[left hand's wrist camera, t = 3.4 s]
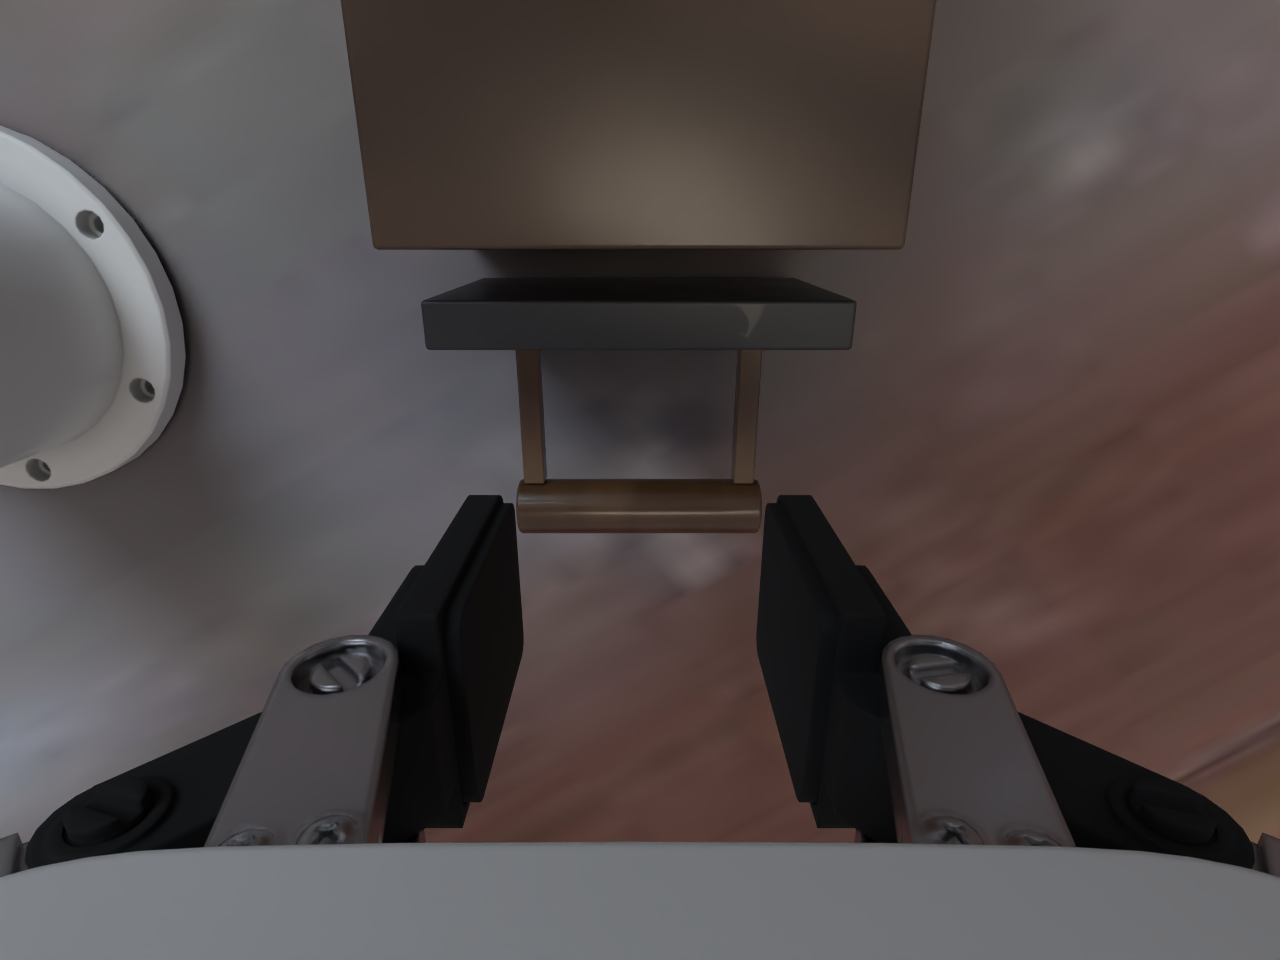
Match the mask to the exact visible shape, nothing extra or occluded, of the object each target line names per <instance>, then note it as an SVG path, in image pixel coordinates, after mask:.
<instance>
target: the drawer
mask: <svg viewBox="0 0 1280 960" xmlns="http://www.w3.org/2000/svg"><path fill="white" fill-rule="evenodd" d="M421 307H422V316H423V325H424V334H425V343H426V348H427V349H429V350H516V360H517V376H518V391H519V407H520V422H521V438H522V453H523V469H524V479H522V480H521V481H520V483H519V486H518V490H517V500H516V514H517V523H518V528H519V530H520V532H522V533H756V532H758V531H759V528H760V524H761V515H762V499H761V490H760V485H759V482H758V480H756V479H754V470H755V454H756V439H757V423H758V407H759V391H760V375H761V359H762V350H848V349H851V347H852V340H853V331H854V322H855V313H856V301H854V300H852V299H849V298H846V297H844V296H841V295H838V294H835V293H833V292H830V291H827V290H825V289H822V288H819V287H817V286H814V285H811V284H809V283H806V282H803V281H801V280H798V279H795V278H483V279H481V280H478V281H475V282H472V283H470V284H467V285H464V286H462V287H459V288H456V289H453V290H451V291H448V292H445V293H443V294H440V295H437V296H434V297H432V298H429V299H426V300H424V301H422V303H421ZM540 350H737V370H736V390H735V410H734V429H733V449H732V469H731V477H732V479H546V477H547V467H546V448H545V429H544V410H543V390H542V371H541V352H540Z"/></svg>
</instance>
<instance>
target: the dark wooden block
mask: <svg viewBox="0 0 1280 960" xmlns="http://www.w3.org/2000/svg"><path fill="white" fill-rule="evenodd" d="M341 5H342V13H343V21H344V28H345V36H346V44H347V51H348V59H349V66H350V74H351V82H352V89H353V97H354V104H355V112H356V120H357V127H358V135H359V142H360V150H361V158H362V165H363V173H364V180H365V188H366V196H367V203H368V211H369V218H370V226H371V234H372V241H373V246H374V248H376V249H378V250H653V249H902V248H903V247H904V244H905V236H906V229H907V221H908V213H909V206H910V198H911V190H912V182H913V175H914V167H915V159H916V152H917V144H918V136H919V128H920V121H921V113H922V105H923V98H924V90H925V82H926V75H927V67H928V59H929V51H930V44H931V36H932V28H933V21H934V13H935V5H936V0H341Z"/></svg>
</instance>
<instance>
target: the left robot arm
mask: <svg viewBox="0 0 1280 960" xmlns="http://www.w3.org/2000/svg"><path fill="white" fill-rule="evenodd" d="M185 359H186V353H185V343H184V333H183V323H182V319H181V316H180V312H179V309H178V305H177V302H176V298H175V295H174V291H173V288H172V286H171V283H170V281H169V279H168V277H167V275H166V273H165V271H164V269H163V267H162V264H161V262H160V260H159V258H158V256H157V254H156V252H155V251H154V249H153V248H152V246H151V245H150V243H149V242H148V240H147V239H146V237H145V236H144V234H143V233H142V231H141V230H140V228H139V227H138V226H137V224H136V223H135V221H134V220H133V218H132V217H131V216H130V215H129V214H128V213H127V212H126V211H125V210H124V209H123V207H122V206H121V205H120V204H119V203H118V202H117V201H116V200H115V199H114V198H113V197H112V195H111V194H110V193H109V192H108V191H107V190H106V189H105V188H104V187H103V186H102V185H101V184H99V183H98V182H97V181H96V180H94V179H93V178H92V177H91V176H89V175H88V174H87V173H86V172H85V171H83V170H82V169H81V168H80V167H78V166H77V165H76V164H75V163H73V162H72V161H71V160H69V159H68V158H66V157H64V156H63V155H61V154H59V153H58V152H56V151H54V150H52V149H51V148H49V147H47V146H46V145H44V144H42V143H41V142H39V141H37V140H36V139H34V138H31V137H29V136H26V135H24V134H21V133H19V132H16V131H13V130H11V129H8V128H6V127H3V126H1V125H0V485H5V486H11V487H17V488H23V489H56V488H61V487H67V486H72V485H77V484H82V483H86V482H89V481H91V480H93V479H96V478H98V477H100V476H103V475H105V474H107V473H110V472H112V471H115V470H116V469H118V468H120V467H122V466H123V465H125V464H127V463H129V462H130V461H132V460H134V459H136V458H137V457H139V456H140V455H141V454H142V453H143V452H144V451H145V450H146V449H147V448H148V447H149V446H150V445H152V444H153V443H154V442H155V441H156V440H157V439H158V438H159V436H160V435H161V433H162V431H163V430H164V428H165V427H166V425H167V424H168V422H169V420H170V419H171V417H172V416H173V414H174V411H175V408H176V405H177V402H178V399H179V396H180V393H181V390H182V387H183V378H184V368H185ZM523 638H524V637H523V621H522V607H521V593H520V579H519V564H518V550H517V536H516V522H515V510H514V505H513V504H512V503H503V499H502V496H500V495H469V496H468V497H467V499H466V500H465V502H464V503H463V505H462V506H461V508H460V510H459V511H458V513H457V514H456V516H455V518H454V519H453V521H452V522H451V524H450V526H449V527H448V529H447V530H446V532H445V534H444V535H443V537H442V538H441V540H440V542H439V543H438V545H437V546H436V548H435V550H434V551H433V553H432V554H431V556H430V558H429V559H428V561H427V562H426V564H425V565H419V566H414V567H413V568H412V569H411V571H410V572H409V574H408V575H407V577H406V578H405V580H404V581H403V583H402V584H401V586H400V588H399V589H398V591H397V592H396V594H395V595H394V597H393V598H392V600H391V601H390V603H389V604H388V606H387V607H386V609H385V610H384V612H383V613H382V615H381V616H380V618H379V619H378V621H377V622H376V624H375V626H374V627H373V629H372V630H371V632H370V633H369V635H348V636H343V637H338V638H333V639H329V640H327V641H324V642H321V643H318V644H315V645H313V646H311V647H309V648H307V649H305V650H304V651H302V652H300V653H298V654H297V655H296V656H294V657H293V658H292V659H291V660H290V661H288V662H287V663H286V664H285V666H284V667H283V669H282V670H281V671H280V673H279V674H278V677H277V679H276V681H275V684H274V686H273V688H272V691H271V693H270V695H269V698H268V700H267V702H266V704H265V707H264V709H263V711H262V712H261V713H258V714H256V715H254V716H252V717H249V718H247V719H245V720H243V721H240V722H238V723H236V724H234V725H231V726H229V727H227V728H224V729H222V730H220V731H218V732H215V733H213V734H211V735H209V736H206V737H204V738H202V739H200V740H197V741H195V742H193V743H191V744H188V745H186V746H184V747H182V748H179V749H177V750H175V751H172V752H170V753H168V754H166V755H163V756H161V757H159V758H157V759H154V760H152V761H150V762H148V763H145V764H143V765H141V766H139V767H136V768H134V769H132V770H129V771H127V772H125V773H123V774H120V775H118V776H116V777H114V778H111V779H109V780H107V781H105V782H102V783H100V784H98V785H95V786H93V787H92V788H91V789H89V790H87V791H85V792H83V793H81V794H79V795H77V796H75V797H74V798H73V799H71V800H70V801H68V802H67V803H66V804H64V805H63V806H61V807H60V808H59V809H57V810H56V811H54V812H53V813H52V814H51V815H50V816H49V817H48V818H47V819H46V820H45V821H44V822H43V823H42V824H41V825H40V826H39V827H38V828H37V830H36V832H35V833H34V835H33V836H32V838H31V840H30V841H29V842H27V843H24V844H22V841H21V839H20V837H19V834H18V833H15V834H13V835H10V836H7V837H4V838H2V839H0V960H1280V839H1278V838H1276V837H1273V836H1270V835H1267V834H1265V833H1262V834H1261V837H1260V839H1259V841H1258V844H1256V843H1253V842H1251V841H1250V840H1249V838H1248V837H1247V835H1246V833H1245V832H1244V830H1243V828H1242V827H1241V826H1240V825H1239V824H1238V823H1237V822H1236V821H1235V820H1234V819H1233V818H1232V817H1231V816H1230V815H1229V814H1228V813H1227V812H1226V811H1224V810H1223V809H1221V808H1220V807H1219V806H1217V805H1216V804H1214V803H1213V802H1212V801H1210V800H1209V799H1207V798H1206V797H1205V796H1203V795H1201V794H1199V793H1197V792H1195V791H1193V790H1192V789H1190V788H1188V787H1186V786H1184V785H1182V784H1180V783H1178V782H1175V781H1173V780H1171V779H1169V778H1166V777H1164V776H1162V775H1160V774H1157V773H1155V772H1153V771H1150V770H1148V769H1146V768H1144V767H1141V766H1139V765H1137V764H1135V763H1132V762H1130V761H1128V760H1126V759H1123V758H1121V757H1119V756H1117V755H1114V754H1112V753H1110V752H1108V751H1105V750H1103V749H1101V748H1098V747H1096V746H1094V745H1092V744H1089V743H1087V742H1085V741H1083V740H1080V739H1078V738H1076V737H1074V736H1071V735H1069V734H1067V733H1065V732H1062V731H1060V730H1058V729H1056V728H1053V727H1051V726H1049V725H1046V724H1044V723H1042V722H1040V721H1037V720H1035V719H1033V718H1031V717H1028V716H1026V715H1024V714H1022V713H1019V712H1018V711H1017V709H1016V707H1015V704H1014V702H1013V700H1012V698H1011V695H1010V693H1009V691H1008V688H1007V686H1006V684H1005V681H1004V679H1003V677H1002V674H1001V673H1000V671H999V670H998V669H997V667H996V666H995V664H994V663H993V662H992V661H990V660H989V659H988V658H987V657H986V656H984V655H983V654H982V653H980V652H978V651H976V650H975V649H973V648H971V647H969V646H967V645H965V644H962V643H959V642H956V641H953V640H951V639H947V638H942V637H937V636H932V635H911V633H910V632H909V630H908V629H907V627H906V626H905V624H904V622H903V621H902V619H901V618H900V616H899V615H898V613H897V612H896V610H895V609H894V607H893V606H892V604H891V603H890V601H889V600H888V598H887V597H886V595H885V594H884V592H883V591H882V589H881V588H880V586H879V584H878V583H877V581H876V580H875V578H874V577H873V575H872V574H871V572H870V571H869V569H868V568H867V567H866V566H861V565H855V564H854V562H853V561H852V559H851V558H850V556H849V554H848V553H847V551H846V550H845V548H844V546H843V545H842V543H841V542H840V540H839V538H838V537H837V535H836V534H835V532H834V530H833V529H832V527H831V526H830V524H829V522H828V521H827V519H826V518H825V516H824V514H823V513H822V511H821V510H820V508H819V507H818V505H817V503H816V502H815V500H814V499H813V497H812V496H811V495H780V496H778V499H777V503H768V504H767V505H766V510H765V522H764V536H763V550H762V564H761V578H760V593H759V607H758V621H757V637H756V639H757V653H758V657H759V661H760V665H761V668H762V672H763V676H764V679H765V683H766V687H767V690H768V694H769V698H770V702H771V705H772V709H773V713H774V716H775V720H776V724H777V727H778V731H779V735H780V738H781V742H782V746H783V749H784V753H785V757H786V760H787V764H788V768H789V771H790V775H791V779H792V782H793V786H794V790H795V793H796V797H797V800H798V801H799V802H810V804H811V808H812V811H813V814H814V818H815V821H816V825H817V828H855V829H856V834H855V842H854V843H777V842H503V843H426V842H425V834H424V829H425V828H463V825H464V821H465V818H466V814H467V811H468V808H469V804H470V802H481V801H482V800H483V797H484V793H485V790H486V786H487V782H488V779H489V775H490V771H491V768H492V764H493V760H494V757H495V753H496V749H497V746H498V742H499V738H500V735H501V731H502V727H503V724H504V720H505V716H506V712H507V709H508V705H509V701H510V698H511V694H512V690H513V687H514V683H515V679H516V676H517V672H518V668H519V665H520V661H521V657H522V653H523Z"/></svg>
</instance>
